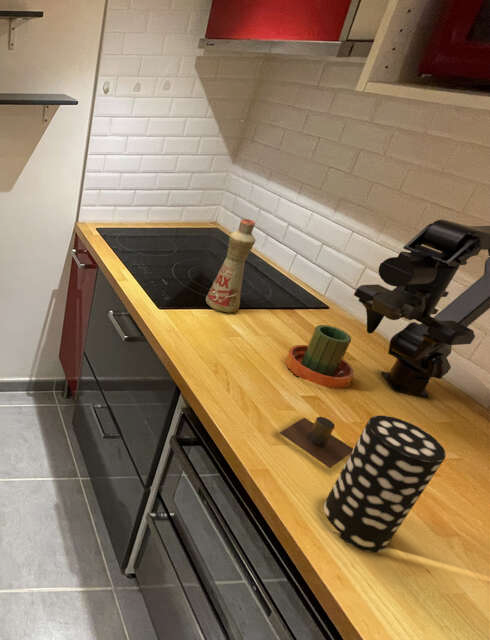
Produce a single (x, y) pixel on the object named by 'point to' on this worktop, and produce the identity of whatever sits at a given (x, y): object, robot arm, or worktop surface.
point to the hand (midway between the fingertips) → (390, 345)
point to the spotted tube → (382, 481)
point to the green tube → (326, 350)
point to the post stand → (318, 440)
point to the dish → (338, 381)
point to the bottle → (232, 270)
